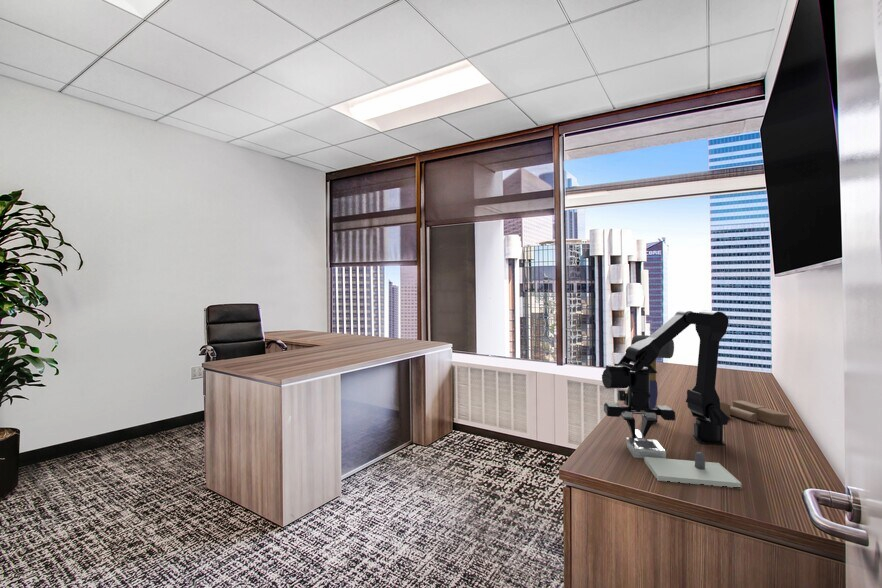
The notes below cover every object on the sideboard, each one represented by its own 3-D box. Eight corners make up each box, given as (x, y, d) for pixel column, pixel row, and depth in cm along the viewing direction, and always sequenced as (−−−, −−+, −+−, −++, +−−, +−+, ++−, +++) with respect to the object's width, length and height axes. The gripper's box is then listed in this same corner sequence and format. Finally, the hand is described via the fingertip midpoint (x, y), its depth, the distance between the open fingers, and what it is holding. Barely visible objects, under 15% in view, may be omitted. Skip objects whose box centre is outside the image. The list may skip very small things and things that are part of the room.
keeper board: (718, 467, 106) (718, 448, 105) (741, 488, 95) (741, 466, 95) (644, 461, 109) (644, 442, 109) (657, 480, 98) (658, 459, 98)
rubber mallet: (628, 419, 143) (629, 334, 142) (635, 415, 148) (637, 333, 147) (667, 428, 134) (669, 338, 133) (673, 423, 139) (675, 336, 139)
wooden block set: (739, 396, 154) (790, 411, 137) (739, 411, 154) (790, 427, 137) (703, 399, 150) (752, 414, 133) (703, 414, 150) (751, 431, 133)
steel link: (621, 438, 125) (621, 428, 125) (648, 440, 124) (649, 430, 124) (634, 457, 111) (634, 446, 111) (665, 460, 110) (665, 449, 110)
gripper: (663, 383, 128) (662, 432, 128) (600, 380, 131) (599, 427, 131) (676, 392, 117) (675, 445, 117) (608, 388, 120) (607, 440, 121)
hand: (637, 439), depth 122 cm, fingers closed on steel link, 2 cm apart
